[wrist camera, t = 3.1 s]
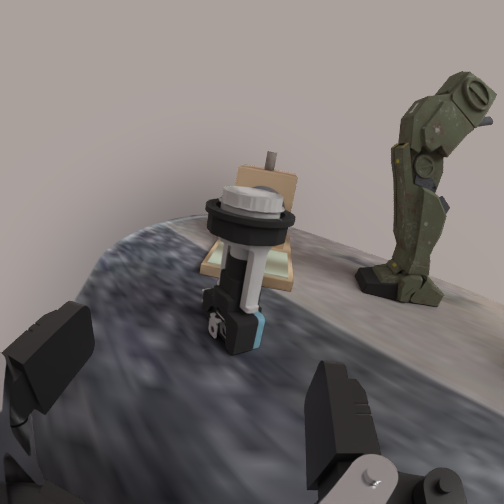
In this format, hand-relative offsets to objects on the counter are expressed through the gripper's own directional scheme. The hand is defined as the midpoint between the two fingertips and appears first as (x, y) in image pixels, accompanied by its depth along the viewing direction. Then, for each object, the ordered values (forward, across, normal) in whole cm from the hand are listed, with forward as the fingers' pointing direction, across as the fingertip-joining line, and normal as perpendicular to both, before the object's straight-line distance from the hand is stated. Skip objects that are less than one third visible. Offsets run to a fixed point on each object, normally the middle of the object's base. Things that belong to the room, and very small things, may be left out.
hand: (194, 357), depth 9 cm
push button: (+10, 0, +6) cm, 12 cm away
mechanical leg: (+24, -20, +6) cm, 31 cm away
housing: (+26, 0, +6) cm, 27 cm away
